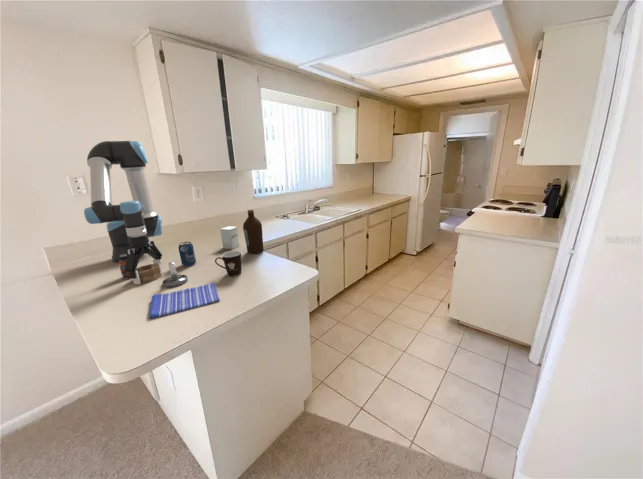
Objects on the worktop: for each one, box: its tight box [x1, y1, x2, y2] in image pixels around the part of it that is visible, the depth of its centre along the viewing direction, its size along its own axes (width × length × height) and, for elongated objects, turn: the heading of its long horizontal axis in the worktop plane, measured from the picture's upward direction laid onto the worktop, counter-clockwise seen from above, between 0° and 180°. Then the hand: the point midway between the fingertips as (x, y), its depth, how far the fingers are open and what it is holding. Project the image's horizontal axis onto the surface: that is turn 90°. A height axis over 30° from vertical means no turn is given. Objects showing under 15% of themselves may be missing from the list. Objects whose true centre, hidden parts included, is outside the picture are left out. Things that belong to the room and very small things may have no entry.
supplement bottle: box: [117, 254, 133, 280], centre depth 128 cm, size 6×6×11 cm
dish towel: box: [149, 281, 220, 319], centre depth 104 cm, size 17×24×3 cm
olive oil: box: [242, 209, 264, 255], centre depth 153 cm, size 11×11×25 cm
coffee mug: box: [214, 250, 242, 277], centre depth 127 cm, size 12×9×10 cm
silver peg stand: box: [162, 261, 189, 289], centre depth 119 cm, size 10×10×10 cm
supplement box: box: [219, 226, 240, 250], centre depth 166 cm, size 7×7×13 cm
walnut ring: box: [136, 263, 162, 284], centre depth 126 cm, size 10×10×5 cm
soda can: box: [178, 241, 197, 267], centre depth 140 cm, size 7×7×12 cm
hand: (148, 277), depth 127 cm, fingers open, 13 cm apart
